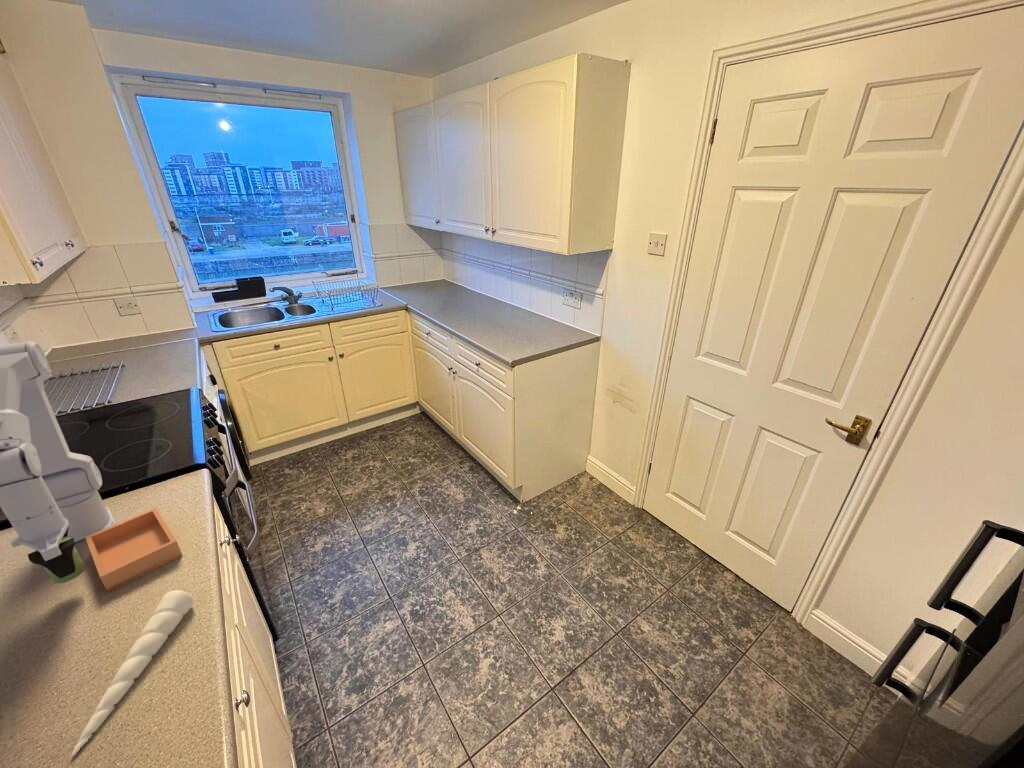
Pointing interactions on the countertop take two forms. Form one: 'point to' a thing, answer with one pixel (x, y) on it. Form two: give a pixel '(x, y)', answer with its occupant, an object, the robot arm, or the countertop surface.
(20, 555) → the countertop surface
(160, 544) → the terracotta bin
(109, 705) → the unicorn horn
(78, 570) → the cucumber piece
